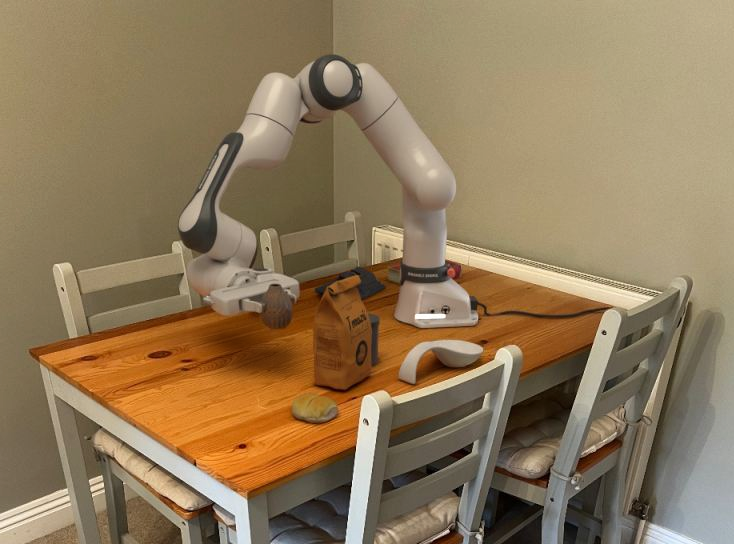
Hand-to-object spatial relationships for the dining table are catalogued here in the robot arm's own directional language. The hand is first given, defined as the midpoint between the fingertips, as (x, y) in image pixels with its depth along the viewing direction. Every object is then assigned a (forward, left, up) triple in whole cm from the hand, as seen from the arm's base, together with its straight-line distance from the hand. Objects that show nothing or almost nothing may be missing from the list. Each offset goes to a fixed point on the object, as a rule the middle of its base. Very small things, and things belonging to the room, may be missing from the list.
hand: (278, 304), depth 153 cm
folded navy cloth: (-12, -66, -17) cm, 69 cm away
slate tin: (-17, -11, -16) cm, 26 cm away
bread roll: (-8, +18, -17) cm, 26 cm away
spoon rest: (-35, -7, -17) cm, 39 cm away
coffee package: (-13, +1, -17) cm, 21 cm away
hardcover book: (-35, -81, -17) cm, 90 cm away
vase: (+1, -1, -5) cm, 5 cm away
